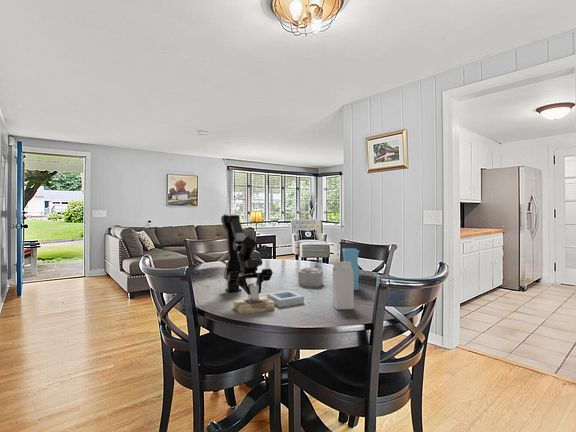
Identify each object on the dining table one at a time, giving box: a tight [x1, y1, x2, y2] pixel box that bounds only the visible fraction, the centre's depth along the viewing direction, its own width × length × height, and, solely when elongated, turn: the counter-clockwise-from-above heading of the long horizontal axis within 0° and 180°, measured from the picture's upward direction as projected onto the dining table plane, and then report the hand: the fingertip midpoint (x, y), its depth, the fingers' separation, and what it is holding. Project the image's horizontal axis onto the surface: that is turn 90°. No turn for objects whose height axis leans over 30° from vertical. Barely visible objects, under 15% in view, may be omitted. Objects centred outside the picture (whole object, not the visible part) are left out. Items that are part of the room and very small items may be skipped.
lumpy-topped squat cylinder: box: [297, 266, 324, 288], centre depth 180 cm, size 10×13×9 cm
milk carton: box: [332, 261, 355, 311], centre depth 137 cm, size 7×7×19 cm
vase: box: [341, 247, 361, 291], centre depth 170 cm, size 8×8×20 cm
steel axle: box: [247, 282, 260, 304], centre depth 136 cm, size 4×4×10 cm
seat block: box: [266, 290, 305, 308], centre depth 146 cm, size 12×12×3 cm
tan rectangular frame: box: [232, 295, 276, 316], centre depth 136 cm, size 10×14×3 cm
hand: (254, 293), depth 135 cm, fingers closed on steel axle, 4 cm apart
